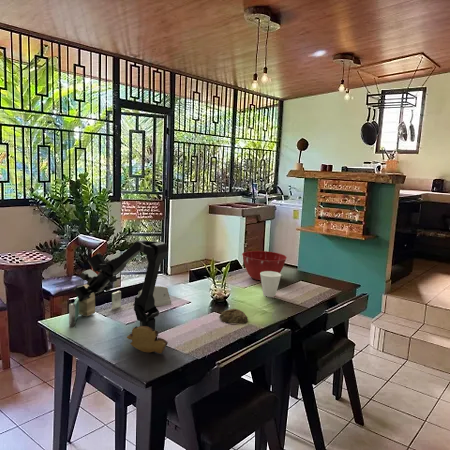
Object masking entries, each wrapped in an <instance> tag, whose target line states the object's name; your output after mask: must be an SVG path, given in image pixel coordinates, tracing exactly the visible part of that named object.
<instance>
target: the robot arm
mask: <svg viewBox="0 0 450 450" xmlns="http://www.w3.org/2000/svg"><path fill="white" fill-rule="evenodd" d="M168 251H169V247H168V246H167V244H166V243H165V242H164V241H159V242H157V241H153V240H152V241H151V240H145V239H140V240H136V241H135V242H133V244H132V245H131V246H129V247H128V248H127V249H126V250H125V251H123V252H122V253H121V254H120V255H119V256H117V257H115V258H113V259H111V260H108V261H106V260H105V259H104V257H103V256H102V253H101V252H98V253H96V254H94V255H93V256H91V257H89V258H88V260H87V262H88V263H89V265H90V267H91V268H92V269H87V270H83V271H82V272H81V273H80V279H81V280H83V281H86V284H87V285H89V286H88V287H87V288H88V289H86V288H85V286H83V285H84V284H83V285H78V286H75V287H74V289H73V293H74V294H75V295H76V298H77V297H78V298H79V301H83V300H86V299H89V298H90V297H89V296H90V295H91V293H94V294H95V297H96V296H99V295H103V294H105V293H107V292H110V291H111V290H112V289H113V285H112V283H114V282H117V281H118V279H117V275H115V274H118V273H121V272H123V271H124V270H125V268H126V267H127V264H128V263H129V262H130V261H131V260H133V259H134V258H135V257H136V256H137V255H139V254H140V253H142V254H143V255H146V259H147V261H148V263H147V267H146V271H145V277H144V281H143V286H142V289H141V290H142V293H141V295H138V294H137V295H136V296H134V302H133V305H132V306H133V310H134V311H133V312H134V313H135V316H136V317H135V318H136V320H137V321H139V326H147V327H150V328H152V329H153V330H157V333H159V330H158V329H156V317H158V316H159V315H160V311H159V309H158V308H157V306H155V305H154V303H155V300H154V297H153V293H154V288H155V286H156V283H157V279H158V274H159V272H160V271H159V270H160V266H161V264H162V263H163V261H164V260H165V258H166V257H167V253H168ZM96 272H97V273H98V274H97V273H96Z"/></svg>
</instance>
